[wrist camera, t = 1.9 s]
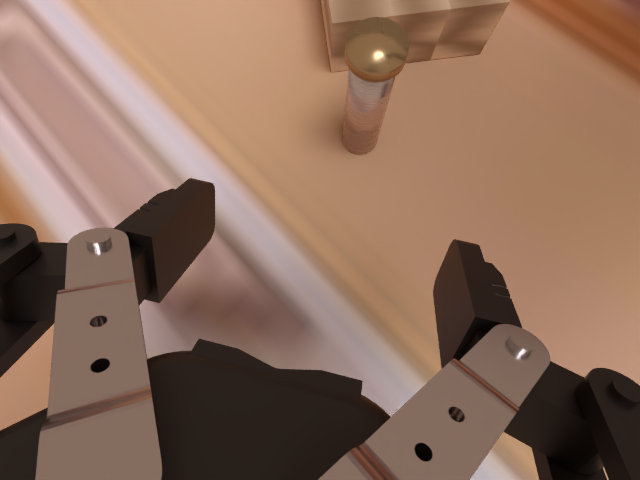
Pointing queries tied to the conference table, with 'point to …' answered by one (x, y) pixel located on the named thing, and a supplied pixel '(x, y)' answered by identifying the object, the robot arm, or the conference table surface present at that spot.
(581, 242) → the conference table surface
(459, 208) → the conference table surface
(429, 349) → the conference table surface
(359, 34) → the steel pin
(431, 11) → the maple hitch block
